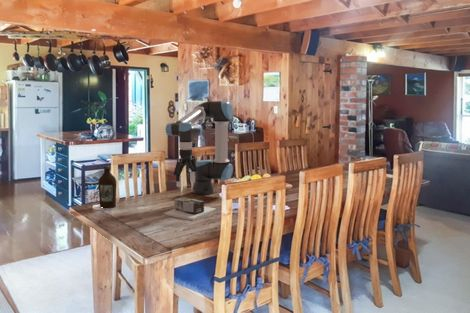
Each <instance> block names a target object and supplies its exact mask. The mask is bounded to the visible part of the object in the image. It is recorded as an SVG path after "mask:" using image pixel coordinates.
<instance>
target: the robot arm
mask: <svg viewBox="0 0 470 313" xmlns="http://www.w3.org/2000/svg"><path fill="white" fill-rule="evenodd" d="M233 117H234V108H233V105H232V104H231V102H229V101H224V100H223V101H222V100H221V101H219V100H217V101H216V100H215V101H214V100H207V101H204V102H201V103H199V104H198V105H196V106H194V107H193V109H192V110H191V111H189V113H187V114H186V115H184V116H182V117H181V118H179V119H178V120H177V121H176V122H173V123H172V122H169V123H167V124H166V126H165V133H166V134H167V136H172V137H178V139H179V140H178V144H179V146H178V150H179V151H178V154H179V157H180V158H178V157H177V158H176V164H175V168H174V172H173V176H175V177H176V181H175V182H176V187H177V188H181V187H182V172H183V169H184V167H185V166H187V167H188V168H189V170H190V171H189V176H190V177H189V180H190V181H189V183H194V185H193V187H192V188H193V189H192V193H193V194H195V195H199V196H200V195H202V196H205V195H206V196H207V195H212V194H215V188H214V185H213V180H217V181H218V180H219V181H229V180H230V179H231V177H232V176H233V172H234V166H233V164H231V163H230V161H231V160H230V159H229V158H228V156H229V155H228V152H229V151H228V150H229V149H228V142H229V141H228V138H229V136H228V135H229V133H228V132H229V123H230V122H231V119H233ZM204 119H212V122H213V123H214V124H215V125H214V127H215V128H214V134H215V135H214V139H215V140H214V152H215V153H214V159H202V160H197V161H195V156H194V155H193V149H192V148H193V138H197V137H199V136H201V135H202V134H203V126H202V125H200V124H199V123H197V122H199V121H202V120H204Z"/></svg>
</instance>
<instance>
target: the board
mask: <svg viewBox="0 0 470 313" xmlns="http://www.w3.org/2000/svg"><path fill="white" fill-rule="evenodd" d="M213 211H214V212H216V211H217V208H215V207H209V206H204V212H201V213H197V214H194V215H193V214H190V213H186V212H183V211H179V210H176V209H174V208H173V209H172V210H168V211H166V212H164V215H165V216H169V217H175V218H180V219H186V220H190V221H195V220H197V219H199V218H202V217H204V216H206V215H209V214H212V213H213Z"/></svg>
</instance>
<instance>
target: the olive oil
mask: <svg viewBox="0 0 470 313" xmlns="http://www.w3.org/2000/svg"><path fill="white" fill-rule="evenodd" d="M103 171H104V172H103V173H102V174H101V176H99V178H98V182H97V185H98V194H99V195H98V196H99V197H98V198H99V208H101V207H103V208H102V209H106V208H107V209H113V208H116V206H117V179H116V177H115V176H114V175H113V174H112V173H111V166H110V165H107V166H104V167H103Z"/></svg>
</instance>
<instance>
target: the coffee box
mask: <svg viewBox="0 0 470 313" xmlns="http://www.w3.org/2000/svg"><path fill="white" fill-rule="evenodd" d="M173 201H174V204H173V210H174V209H176V210H179V211H183V212H186V213H190V214H193V215H194V214H197V213H201V212H204V207H205V201H204V200H201V199H200V200H199V199H194V198H190V197H187V196H184V197H179V198H175V199H173Z"/></svg>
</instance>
